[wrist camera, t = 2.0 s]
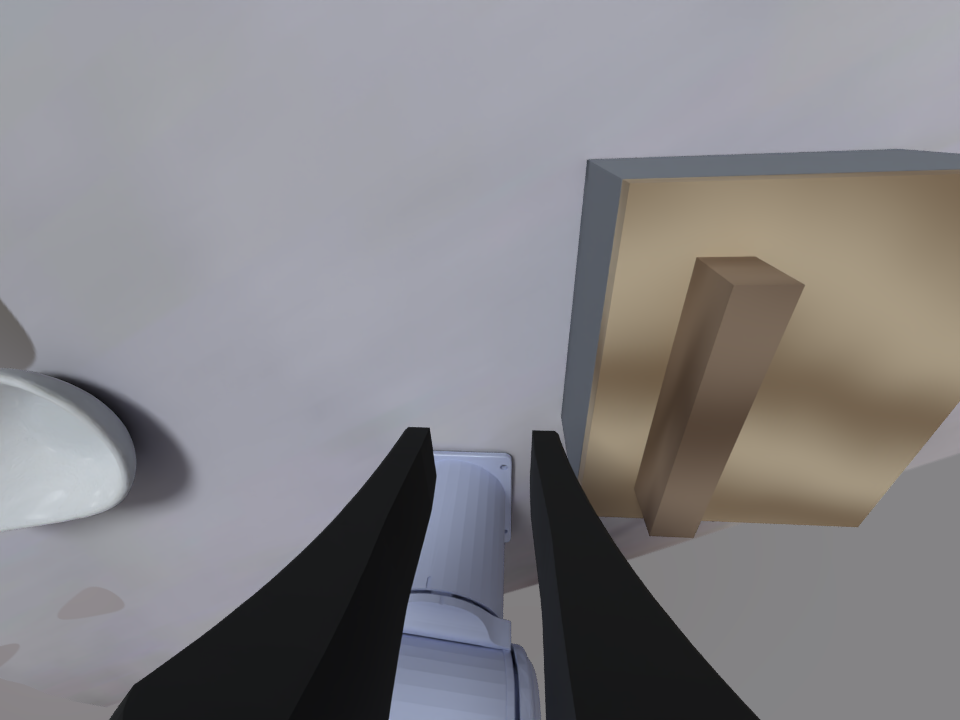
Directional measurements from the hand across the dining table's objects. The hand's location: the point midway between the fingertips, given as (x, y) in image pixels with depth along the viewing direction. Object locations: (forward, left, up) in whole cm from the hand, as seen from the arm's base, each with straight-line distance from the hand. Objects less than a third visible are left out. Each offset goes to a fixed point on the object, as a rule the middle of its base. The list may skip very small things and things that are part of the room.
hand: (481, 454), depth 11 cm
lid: (0, -10, -4) cm, 11 cm away
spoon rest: (-11, +35, -11) cm, 38 cm away
